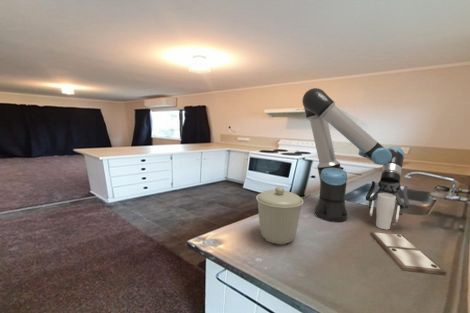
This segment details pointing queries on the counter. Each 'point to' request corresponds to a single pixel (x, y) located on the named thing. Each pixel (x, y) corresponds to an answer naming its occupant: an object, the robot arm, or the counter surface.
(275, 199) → the canister
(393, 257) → the coaster board
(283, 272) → the counter surface
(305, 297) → the counter surface
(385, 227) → the white cup
